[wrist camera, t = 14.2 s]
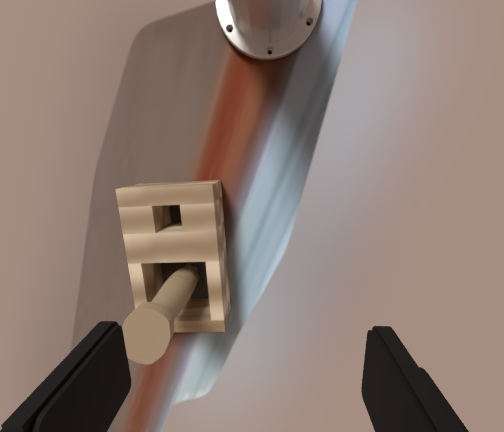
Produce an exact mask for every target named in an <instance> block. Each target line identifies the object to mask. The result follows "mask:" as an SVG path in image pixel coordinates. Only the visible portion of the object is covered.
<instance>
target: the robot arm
mask: <svg viewBox="0 0 504 432" xmlns="http://www.w3.org/2000/svg"><path fill="white" fill-rule="evenodd" d="M321 3H322V0H215V5H216V11H217V17H218V20H219V23H220V25H221V28H222V30H223V32H224V34H225V36H226V37H227V39H228V40H229V42H230V43H231V44H232V45H233V46H234V47H235V48H236V49H237V50H238V51H240V52H241V53H243V54H244V55H246V56H249V57H251V58H253V59H258V60H275V59H279V58H283V57H285V56H287V55H289V54H291V53H293V52H294V51H295V50H297V49H298V48H299V47H300V46H301V45H302V44H303V43H304V42H305V41H306V40H307V39H308V37H309V36H310V34H311V32H312V31H313V29H314V27H315V24H316V22H317V19H318V16H319V13H320V9H321ZM307 23H309V24H310V26H307V25H306V24H307ZM229 30H232V32H230V33H229ZM269 51H271V52H272V54H271V55H269V54H268V52H269ZM130 388H131V376H130V370H129V364H128V359H127V353H126V347H125V341H124V335H123V329H122V327H121V326H119V325H118V323H117V322H114V321H101V322H99V323H98V324H97V325H96V326H95V327H94V328H93V329H92V330H91V331H90V332H89V333H88V335H87V336H86V337H85V338H84V339H83V340H82V341H81V342H80V343H79V344H78V345H77V346H76V347H75V348H74V349H73V350H72V351H71V352H70V353H69V355H68V356H67V357H66V358H65V359H64V360H63V361H62V362H61V363H60V364H59V365H58V366H57V367H56V368H55V369H54V371H52V372H51V374H50V375H49V376H48V377H47V378H46V379H45V380H44V381H43V382H42V383H41V384H40V385H39V386H38V387H37V388H36V389H35V390H34V391H33V393H32V394H31V395H30V396H29V397H28V398H27V399H26V400H25V401H24V402H23V403H22V404H21V405H20V406H19V407H18V408H17V409H16V410H15V411H14V413H13V414H12V415H11V416H10V417H9V418H8V419H7V420H6V421H5V422H4V423H3V424H2V429H1V431H0V432H107V430H108V428H109V427H110V425H111V423H112V421H113V420H114V418H115V416H116V414H117V412H118V411H119V409H120V407H121V405H122V404H123V402H124V400H125V398H126V396H127V395H128V393H129V391H130ZM362 397H363V400H364V403H365V405H366V408H367V411H368V414H369V416H370V419H371V422H372V424H373V427H374V430H375V432H468V430H467V429H466V427H465V426H464V424H463V423H462V422H461V420H460V419H459V417H458V416H457V414H456V413H455V412H454V410H453V409H452V407H451V406H450V404H449V403H448V401H447V400H446V399H445V397H444V396H443V394H442V393H441V391H440V390H439V389H438V387H437V386H436V384H435V383H434V382H433V380H432V379H431V377H430V376H429V374H428V373H427V372H426V371H425V370H424V369H422V368H420V367H418V366H417V364H416V363H415V361H414V360H413V358H412V357H411V355H410V354H409V352H408V351H407V349H406V348H405V346H404V345H403V344H402V342H401V341H400V339H399V338H398V336H397V335H396V333H395V332H394V330H393V329H392V328H391V327H389V326H374V327H373V328H372V330H369V331H368V333H367V341H366V351H365V361H364V370H363V379H362Z"/></svg>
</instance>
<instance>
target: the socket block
mask: <svg viewBox="0 0 504 432" xmlns="http://www.w3.org/2000/svg"><path fill="white" fill-rule="evenodd" d="M116 195H117V201H118V207H119V213H120V219H121V225H122V231H123V237H124V243H125V249H126V255H127V261H128V267H129V273H130V279H131V285H132V291H133V297H134V303H135V309H136V308H137V307H138V306H139V305H141V304H142V303H143V302H152V300H153V299H154V297H155V296H156V294H157V293H158V292H159V290H160V289H161V287H162V286H163V284H164V283H165V282H166V281H167V279H168V278H169V277H170V276H171V275H172V274H173V273H174V272H175V271H177V270H178V269H179V268H181V267H184V266H185V265H186V264H187V263H190V264H191V265H192V266H196V267H197V268H198V274H199V279H198V282H197V284H196V287H195V289H194V291H193V293H192V295H191V297H190V298H189V300H188V302H187V303H186V304H185V306H184V307H183V309H182V310H181V311H180V313H179V314H178V316H177V317H176V319H175V320H174V332H225V330H226V326H227V321H228V317H229V313H230V309H231V302H230V290H229V277H228V264H227V252H226V239H225V226H224V214H223V201H222V188H221V180H211V181H191V182H170V183H150V184H137V185H132V186H128V187H123V188H119V189H116Z"/></svg>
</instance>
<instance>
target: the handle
mask: <svg viewBox="0 0 504 432" xmlns="http://www.w3.org/2000/svg"><path fill="white" fill-rule="evenodd" d="M198 279H199V274H198V268H197V267H196V266H192V265H191V264H190V263H187V264H186V265H185V266H184V267H181V268H179V269H178V270H177V271H175V272H174V273H173V274H172V275H171V276H170V277H169V278H168V279H167V281H166V282H165V283H164V284H163V286H162V287H161V289H160V290H159V292H158V293H157V294H156V296H155V297H154V299H153V300H152V302H143V303H142V304H141V305H139V306H138V307H137V308H136V309H135V310H134V311H133V312H132V313H131V314H130V315H129V316H128V317H127V318H126V319H125V321H124V323H123V326H122V329H123V335H124V341H125V347H126V353H127V357H128V358H129V359H130V360H132V361H134V362H137V363H140V364H152V363H153V362H155V361H156V360H157V359H159V358H160V357H161V356H162V355H163V354H164V353H165V351H166V349H167V347H168V346H169V343H170V341H171V339H172V337H173V334H174V320H175V319H176V317H177V316H178V314H179V313H180V311H181V310H182V309H183V307H184V306H185V304H186V303H187V302H188V300H189V298H190V297H191V295H192V293H193V291H194V289H195V287H196V284H197V282H198Z"/></svg>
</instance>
